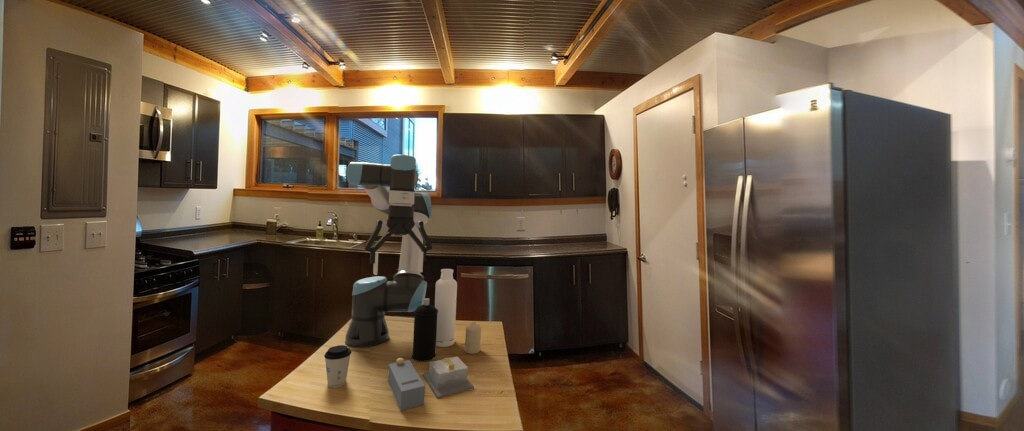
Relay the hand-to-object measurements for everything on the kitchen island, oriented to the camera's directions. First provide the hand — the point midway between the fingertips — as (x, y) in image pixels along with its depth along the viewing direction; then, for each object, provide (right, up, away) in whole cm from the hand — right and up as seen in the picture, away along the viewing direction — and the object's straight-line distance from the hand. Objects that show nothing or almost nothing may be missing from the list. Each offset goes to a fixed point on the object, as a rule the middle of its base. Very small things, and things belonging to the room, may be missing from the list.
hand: (398, 272), depth 102 cm
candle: (+21, -32, +17) cm, 42 cm away
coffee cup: (-15, -30, -9) cm, 35 cm away
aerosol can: (+5, -31, +11) cm, 33 cm away
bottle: (+9, -31, +23) cm, 40 cm away
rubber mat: (+16, -32, -5) cm, 36 cm away
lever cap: (+16, -31, -5) cm, 36 cm away
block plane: (+6, -31, -11) cm, 34 cm away
